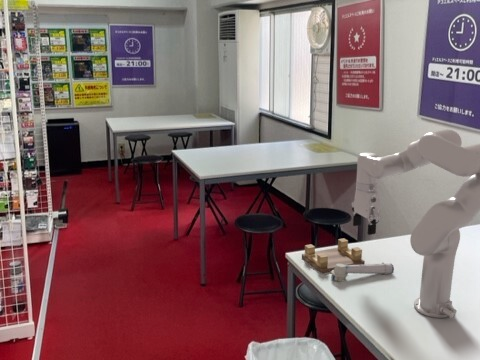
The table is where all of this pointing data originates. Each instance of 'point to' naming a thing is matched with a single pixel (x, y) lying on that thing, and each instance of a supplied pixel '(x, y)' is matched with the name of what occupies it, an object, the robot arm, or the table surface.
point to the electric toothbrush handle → (360, 270)
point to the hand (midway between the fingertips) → (364, 229)
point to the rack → (333, 256)
